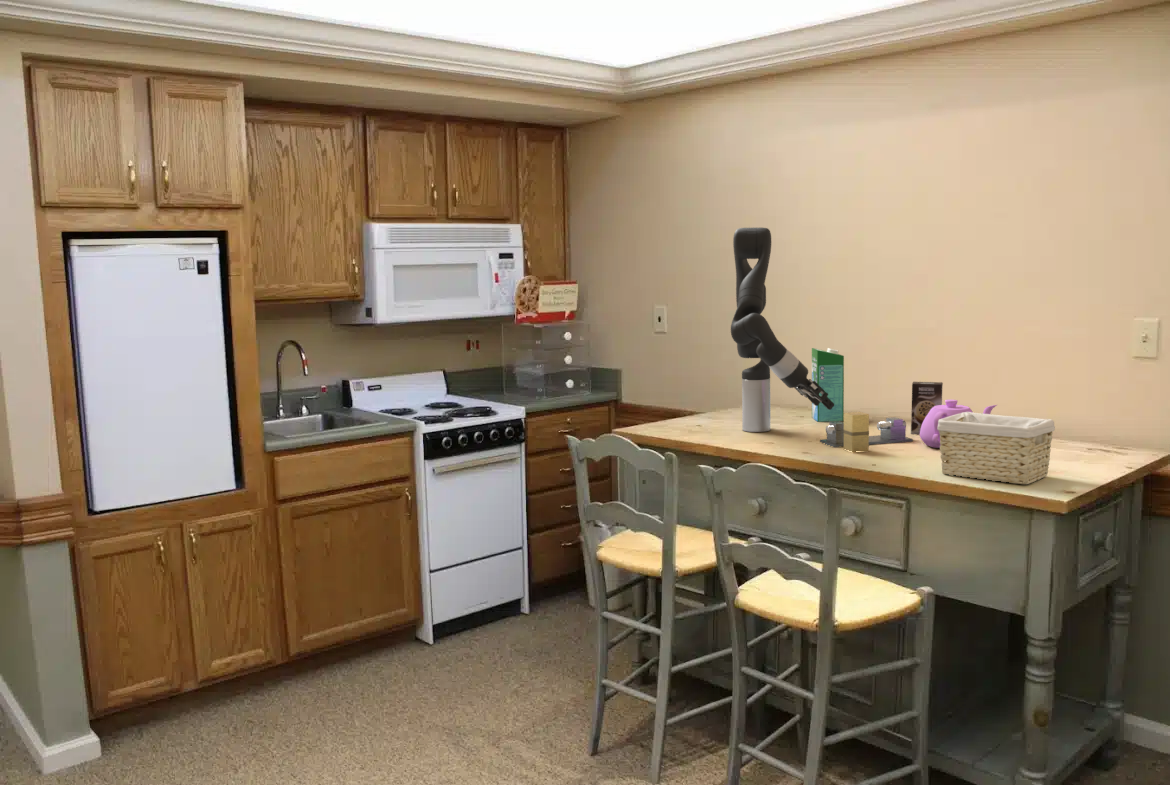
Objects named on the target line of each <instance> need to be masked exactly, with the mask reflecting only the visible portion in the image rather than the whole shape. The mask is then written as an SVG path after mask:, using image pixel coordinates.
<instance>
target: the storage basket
mask: <svg viewBox="0 0 1170 785" xmlns="http://www.w3.org/2000/svg"><path fill="white" fill-rule="evenodd" d="M937 429H938V430H939V432H940V444H941V446H940V448H939V451H940V459H941V473H942V474H943V475H945V474H949V475H948V476H950V475H956V476H955V477H960V476H962V477H961V478H967V477H970V478H969V479H971V478H977V479H976V480H984V479H986V480H985V481H988V480H992V481H991V482H995V481H1001V483H1006V482H1009V484H1010V483H1011V484H1018V485H1019V484H1020V485H1030V484H1032V483H1034V482H1036V481H1040V480H1041V479H1043V478H1045V477H1046V476H1048V473H1049V465H1050V459H1051V450H1052V441H1053V432H1054V431H1055V430H1056V426H1055V421H1054V420H1053V418H1052V419H1051V418H1038V417H1037V418H1036V417H1027V416H1015V415H1014V416H1013V415H1012V416H1011V415H1001V414H1000V415H999V414H993V413H992V414H991V413H990V414H983V412H982V413H980V412H979V413H978V412H973V413H972V412H963V413H960V414H956V415H952V416H949V417H946V418H943V419H939V420H938V428H937Z"/></svg>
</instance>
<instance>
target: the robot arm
mask: <svg viewBox="0 0 1170 785" xmlns="http://www.w3.org/2000/svg"><path fill="white" fill-rule="evenodd" d="M732 241H733V242H732V245H733V255H734V256H733V257H734V263H735V279H736V280H735V281H736V282H735V287H736V288H735V296H736V298H735V300H736V310H735V312H734V315H733V318H732V321H731V325H730V334H731V338H732V340H733V341H734V343H736V349H737V354H738V356H739V357H740V358H742V359H760V360H759V361H758V363H756V364H754V365H752V366H751V367H747V368H745V369H743V370H742V372H741V398H742V400H741V402H742V403H741V404H742V406H741V408H742V409H741V410H742V415H741V416H742V417H741V418H742V419H741V420H742V421H741V422H742V424H741V425H742V428H741V429H742V431H744V432H748V433H749V432H751V433H760V432H761V433H763V432H768V431H771V372H772V373H773V374H775V375H776V376H777V377H778V379H779V380H780V381H782V383H783V384H784V385H785V386H786V387H787V388H789V389H793V388H794V389H795V390H796V391H797V392H798V393H799V395H801V396H804V397H805V398H807V399H808V400H809V401H810V402H811V404H812V403H813V404H814V405H815V406H818V405H819V403H820V402H821V403H822V404H823V405H824V406H825V407H826V408H827V409H829V410H831V409H832V408H833V407H834V403H833V402H832V401H831V400H830V399H829V398H828V397H827V396H828V393H826V392H825V391H824V390H823V389H822V388H821V387H820V386H819V385H818V384H817V383H816V382H815V381H812V378H811V379H810V378H808V374H809V369H808V368H807V367H806V366H805V365H804V364H803V363H802V361H800V360H799V359H798V358H797V356H796V355H794V354H793V352H791V351H790V350H788V348H786V347H785V345H783V344H782V343H781V342H780V341H779V340H778V338H777V337H776V335H775V333H774V332H773V329H772V328H771V325H770V324H769V322H768V321H767V319H766V318H765V317H764V316H763V315H762V313H763V311H764V310H765V307H766V305H767V289H766V288H767V287H766V285H765V283H766V279H767V278H766V277H767V273H768V269H769V263H770V258H771V252H772V232H771V230H770V228H768V227H739V228H736V229H735V232H734V234H733V240H732ZM757 259H758V260H757ZM748 260H757V262H756V264H755V265H754V266H753V268H752V267H751V265H750V263H749V261H748ZM819 393H821V394H822V395H821V396H820V395H819Z"/></svg>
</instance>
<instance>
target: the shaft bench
mask: <svg viewBox="0 0 1170 785" xmlns="http://www.w3.org/2000/svg"><path fill="white" fill-rule="evenodd" d="M906 427H907V422H906V420H904V419H902V418H900V417H896V416H894V417H886V419H885V421H879V422H877V424H876V429H877V430H878V431H880V434H878V435H869V446H871V445H872V446H873V445H884V444H897V443H909V442H910V443H911V442H913V440H914V439H913V438H911V437H907V436H906V431H907V430H906ZM843 430H844V421H829V425H826V426H825V433H826V438H825V439H820V440H819V443H820V442H822V443H821V444H823V443H825V444H824V445H826V444H827V445H826V446H828V445H830V446H829V447H831V446H833V447H834V448H840V447H839V446H844V433H843ZM833 447H832V448H833Z"/></svg>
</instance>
